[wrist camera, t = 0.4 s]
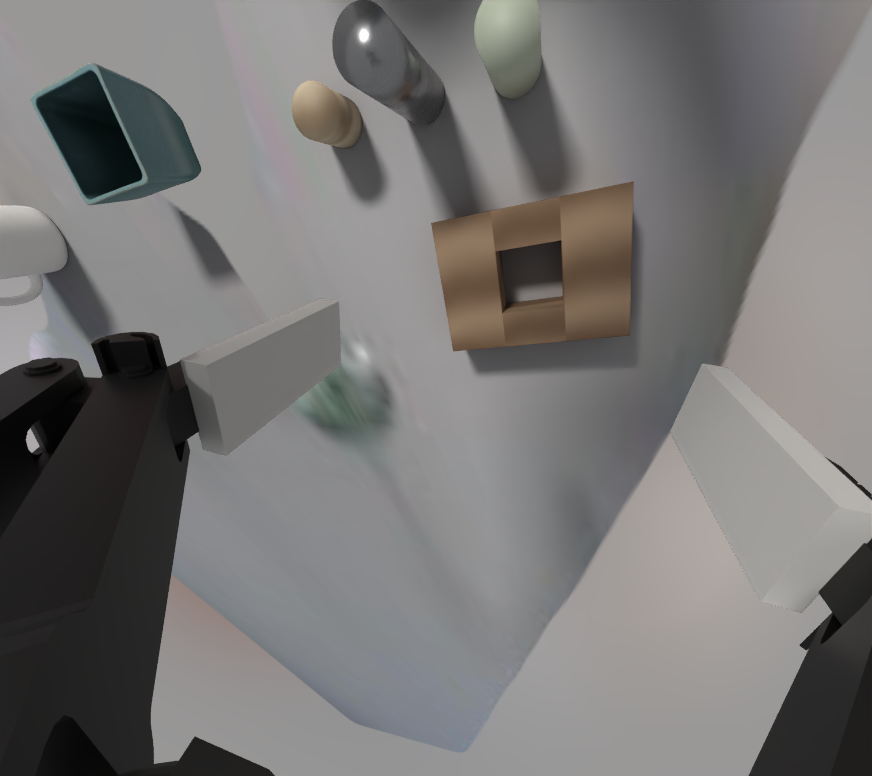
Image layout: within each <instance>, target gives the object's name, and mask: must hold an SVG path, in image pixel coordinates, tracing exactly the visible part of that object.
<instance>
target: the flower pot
mask: <svg viewBox="0 0 872 776" xmlns="http://www.w3.org/2000/svg"><path fill="white" fill-rule="evenodd" d="M31 102H32V104H33V107H34V109H35V111H36V112H37V114H38V116H39V119H40V120H41V122H42V124H43V126H44V128H45V129H46V131H47V133H48V135H49V136H50V138H51V140H52V142H53V144H54V146H55V148H56V149H57V151H58V153H59V155H60V157H61V159H62V161H63V162H64V164H65V166H66V168H67V170H68V172H69V173H70V175H71V177H72V179H73V181H74V183H75V185H76V187H77V189H78V191H79V193H80V195H81V197H82V198H83V200H84V201H85V202H86V204H87V205H95V204H104V203H112V202H120V201H127V200H134V199H139V198H143V197H146V196H149V195H152V194H154V193H157V192H159V191H162V190H165V189H168V188H170V187H173V186H176V185H179V184H182V183H185V182H188V181H191V180H193V179H194V178H196V177H197V176H198V175H199V173H200V172H201V167H200V164H199V161H198V159H197V157H196V154H195V152H194V149H193V147H192V145H191V142H190V140H189V137H188V135H187V132H186V129H185V127H184V124H183V122H182V120H181V119H180V117H179V116H178V115H177V113H176V112H175V111H174V110H173V109H172V108H171V106H170V105H169V104H168V103H167V102H166V101H165V100H164V99H163V98H161V97H160V96H159V95H158V94H156V93H155V92H154V91H152V90H151V89H149V88H147V87H145V86H144V85H142V84H140V83H137V82H135V81H133V80H131V79H129V78H126V77H124V76H122V75H120V74H118V73H115V72H113V71H111V70H109V69H106V68H104V67H102V66H99V65H97V64H95V63H89V64H86V65H85V66H83V67H81V68H79V69H78V70H76V71H74V72H73V73H71V74H70V75H68V76H67V77H64V78H63V79H61V80H59V81H57V82H56V83H53V84H52V85H49V86H48V87H46V88H44V89H42V90H40V91H38V92H37V93H35V94H34V95H33V96H32V97H31Z"/></svg>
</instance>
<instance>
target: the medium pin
mask: <svg viewBox="0 0 872 776" xmlns="http://www.w3.org/2000/svg"><path fill="white" fill-rule="evenodd" d="M474 38H475V43H476V47H477V49H478V52H479V54H480V56H481V59H482V61H483V63H484V65H485V68H486V70H487V72H488V74H489V77H490V79H491V81H492V83H493V86H494V88H495V89H496V91H497V92H498V93H499V94H500V95H502V96H503V97H505V98H509V99H515V98H519V97H522V96H524V95H525V94H527V93H528V92H529V91H530V90H531V89H532V88H533V86H534V85H535V83H536V82H537V80H538V77H539V75H540V71H541V64H542V59H541V32H540V11H539V5H538V2H537V0H483V1H482V3H481V5H480V7H479V10H478V12H477V15H476V19H475V26H474Z"/></svg>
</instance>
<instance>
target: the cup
mask: <svg viewBox="0 0 872 776" xmlns="http://www.w3.org/2000/svg"><path fill="white" fill-rule="evenodd" d="M67 259H68V252H67V247H66V243H65V241H64V238H63V236H62V234H61V233H60V231H59V229H58V228H57V227H56V225H55V224H54V223H53V222H52V221H51V219H49V218H48V217H47V216H46V215H45V214H43V213H42V212H40V211H38V210H36V209H34V208H31V207H27V206H0V279H5V278H13V277H20V276H29V278H30V282H31V287H30V289H29V291H28V292H26V293H24V294H22V295H19V296H14V297H7V298H0V306H10V305H11V306H12V305H18V304H23V303H27V302H29V301H31V300H34V299H35V298H37V297H38V296H39V295H40V293H41V292H42V289H43V278H42V274H43V273H49V272H55V271H58V270H60V269H62V268H63V267H64V266H65V265H66V263H67Z"/></svg>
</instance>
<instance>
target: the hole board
mask: <svg viewBox="0 0 872 776" xmlns="http://www.w3.org/2000/svg"><path fill="white" fill-rule="evenodd" d="M632 220H633V182H629V183H624V184H619V185H614V186H610V187H605V188H600V189H595V190H590V191H585V192H580V193H576V194H571V195H566V196H561V197H556V198H551V199H546V200H541V201H537V202H532V203H527V204H522V205H517V206H512V207H507V208H502V209H498V210H493V211H488V212H483V213H478V214H473V215H468V216H463V217H459V218H454V219H449V220H444V221H439V222H434V223H431V224H432V230H433V236H434V242H435V248H436V253H437V259H438V265H439V271H440V277H441V282H442V288H443V294H444V300H445V306H446V311H447V317H448V323H449V329H450V335H451V340H452V346H453V351H461V350H473V349H484V348H495V347H506V346H517V345H528V344H539V343H550V342H561V341H573V340H584V339H595V338H606V337H617V336H628V335H630V304H631V262H632ZM554 241H560V247H561V268H562V289H563V297H555V298H547V299H539V300H531V301H523V302H515V303H507V304H506V297H505V288H504V279H503V270H502V260H501V250H507V249H513V248H519V247H525V246H530V245H536V244H542V243H548V242H554Z"/></svg>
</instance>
